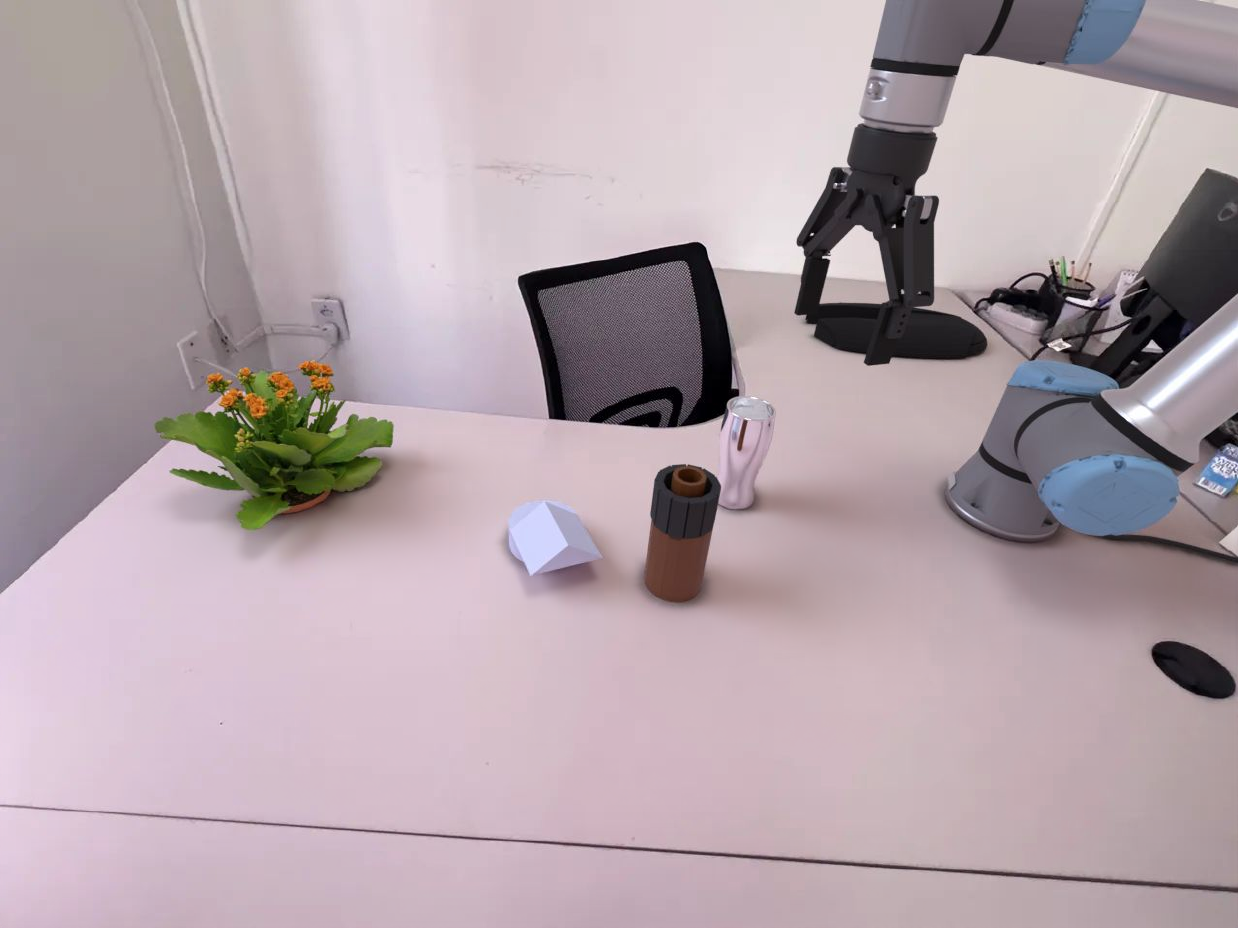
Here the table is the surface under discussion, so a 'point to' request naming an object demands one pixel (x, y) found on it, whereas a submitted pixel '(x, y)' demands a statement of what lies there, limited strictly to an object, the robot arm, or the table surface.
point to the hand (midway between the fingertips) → (838, 337)
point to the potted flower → (279, 443)
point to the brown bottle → (678, 548)
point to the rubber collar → (684, 506)
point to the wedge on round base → (549, 537)
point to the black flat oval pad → (920, 338)
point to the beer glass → (743, 448)
